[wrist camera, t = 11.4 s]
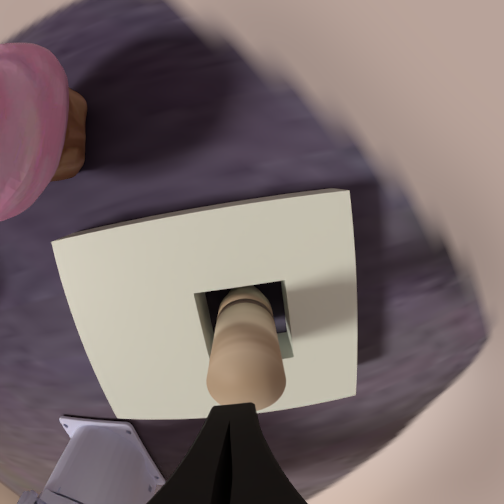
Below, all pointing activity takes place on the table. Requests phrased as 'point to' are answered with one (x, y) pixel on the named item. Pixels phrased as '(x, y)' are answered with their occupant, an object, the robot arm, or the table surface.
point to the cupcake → (36, 125)
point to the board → (195, 304)
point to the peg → (245, 351)
